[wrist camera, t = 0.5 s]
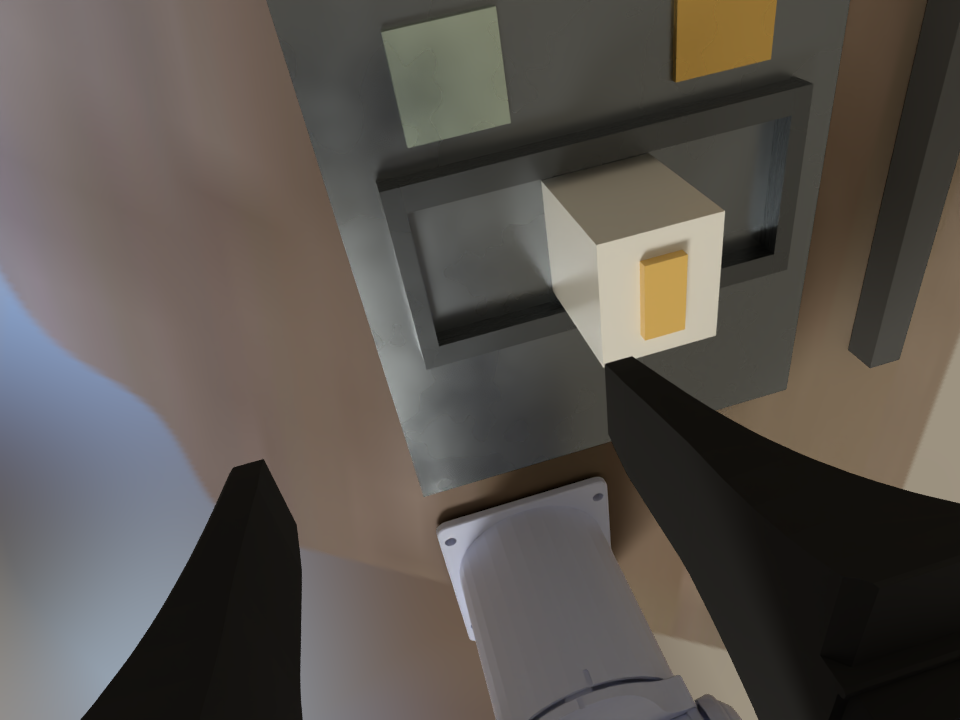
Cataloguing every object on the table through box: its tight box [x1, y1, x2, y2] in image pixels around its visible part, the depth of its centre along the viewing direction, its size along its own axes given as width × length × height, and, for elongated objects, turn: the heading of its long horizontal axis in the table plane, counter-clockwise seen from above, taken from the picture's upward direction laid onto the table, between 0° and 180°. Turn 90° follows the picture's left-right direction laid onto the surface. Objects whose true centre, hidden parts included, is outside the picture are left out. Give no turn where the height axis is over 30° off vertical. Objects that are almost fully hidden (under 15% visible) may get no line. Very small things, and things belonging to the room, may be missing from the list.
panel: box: [266, 0, 850, 497], centre depth 22 cm, size 20×16×2 cm
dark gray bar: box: [848, 0, 960, 368], centre depth 25 cm, size 16×1×1 cm, turn 9°
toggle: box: [541, 153, 725, 368], centre depth 20 cm, size 4×4×5 cm
